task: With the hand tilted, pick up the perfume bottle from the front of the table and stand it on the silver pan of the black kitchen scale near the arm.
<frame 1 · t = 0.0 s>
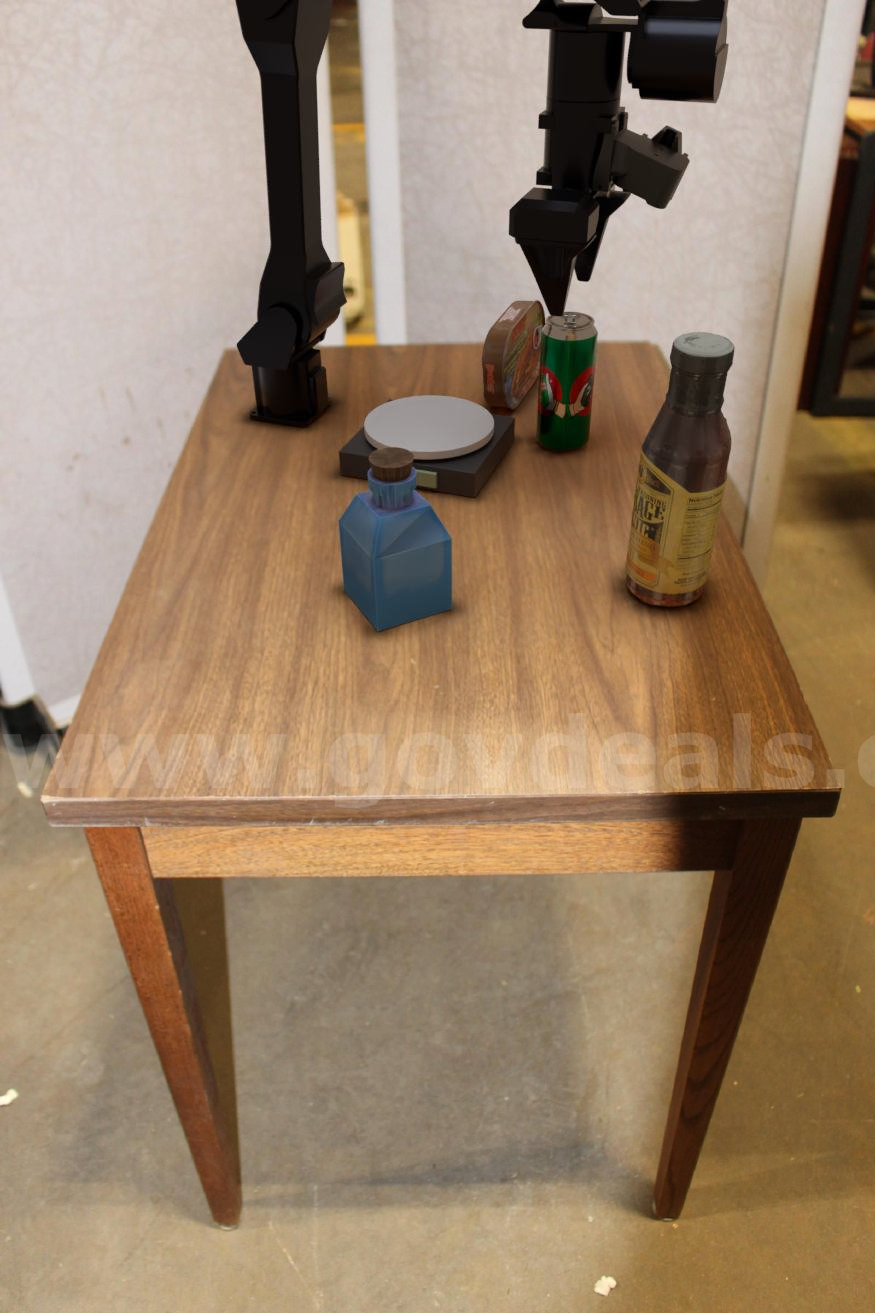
hand: (570, 297, 92), 15 cm above the table, tool pointing down, fingers open, 9 cm apart
perfume bottle: (397, 601, 82), on the table
soda can: (562, 444, 103), on the table
sauce bottle: (664, 592, 82), on the table
tin: (513, 393, 112), on the table
scale: (429, 457, 100), on the table
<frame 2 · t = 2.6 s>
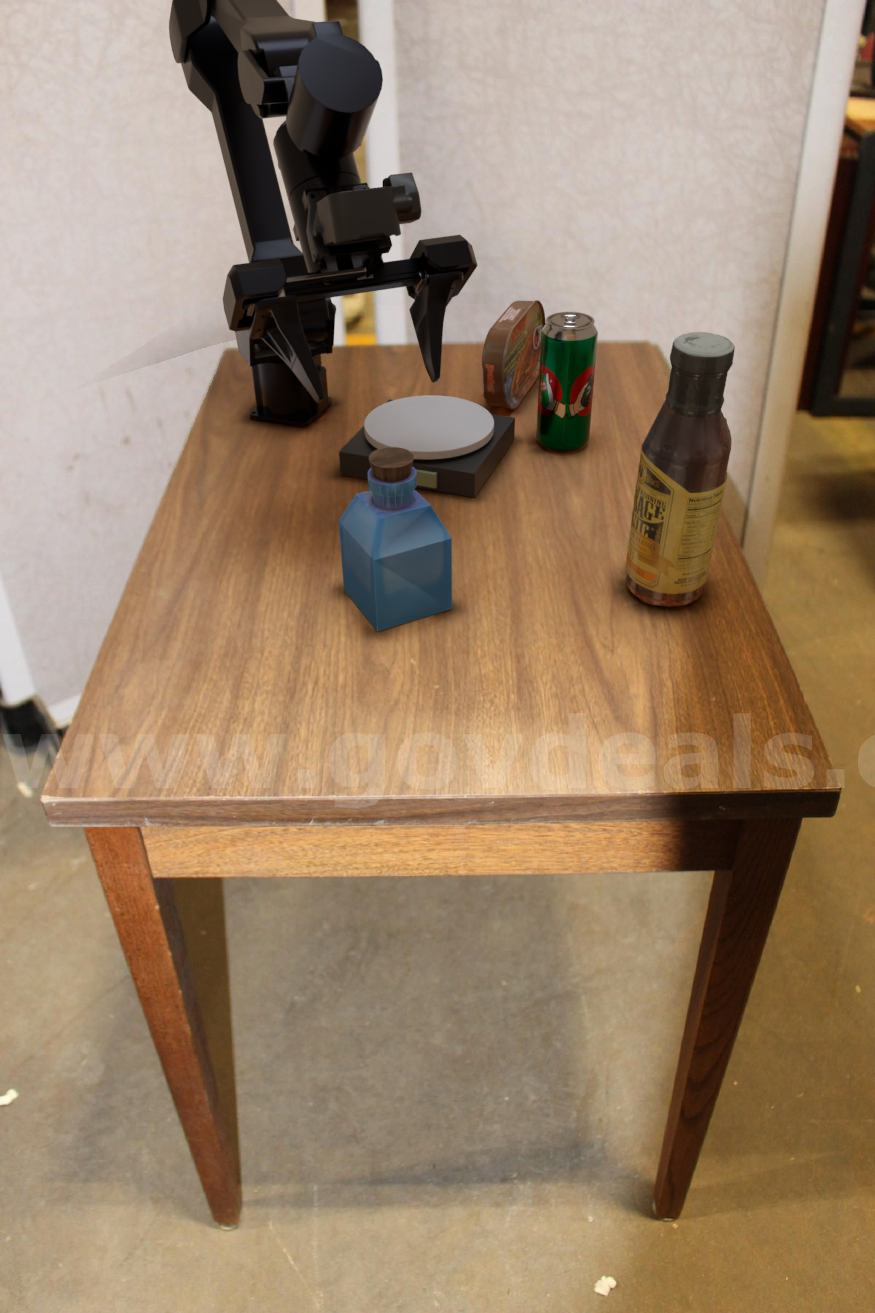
hand: (379, 390, 80), 13 cm above the table, tool tilted 40°, fingers open, 9 cm apart
nothing on the table moved.
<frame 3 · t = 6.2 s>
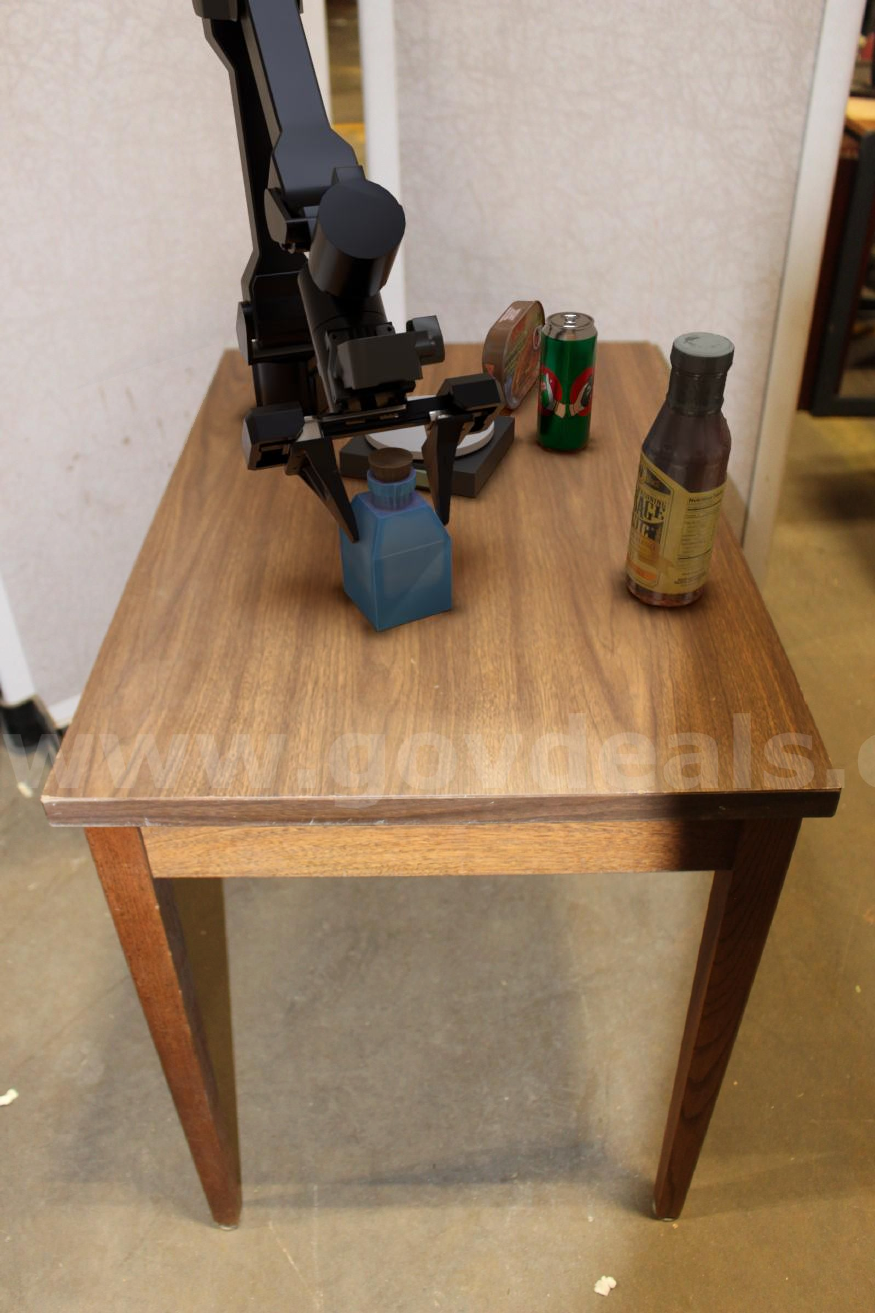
hand: (400, 533, 77), 7 cm above the table, tool tilted 45°, fingers closed on perfume bottle, 6 cm apart
perfume bottle: (397, 601, 82), on the table, touching gripper
everything else where it was.
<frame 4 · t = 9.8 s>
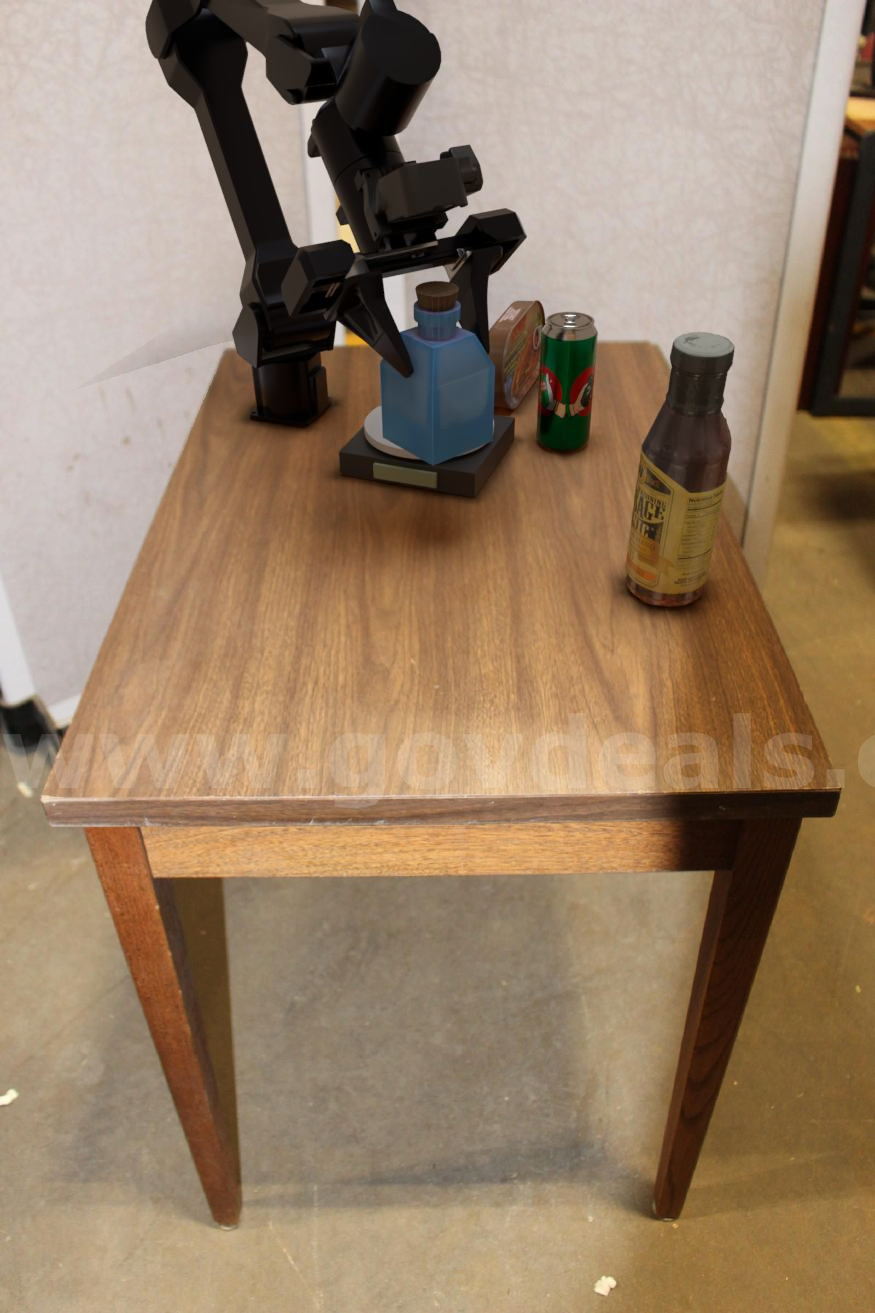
hand: (448, 365, 80), 15 cm above the table, tool tilted 45°, fingers closed on perfume bottle, 6 cm apart
perfume bottle: (437, 441, 85), point 8 cm above the table, touching gripper
everything else where it was.
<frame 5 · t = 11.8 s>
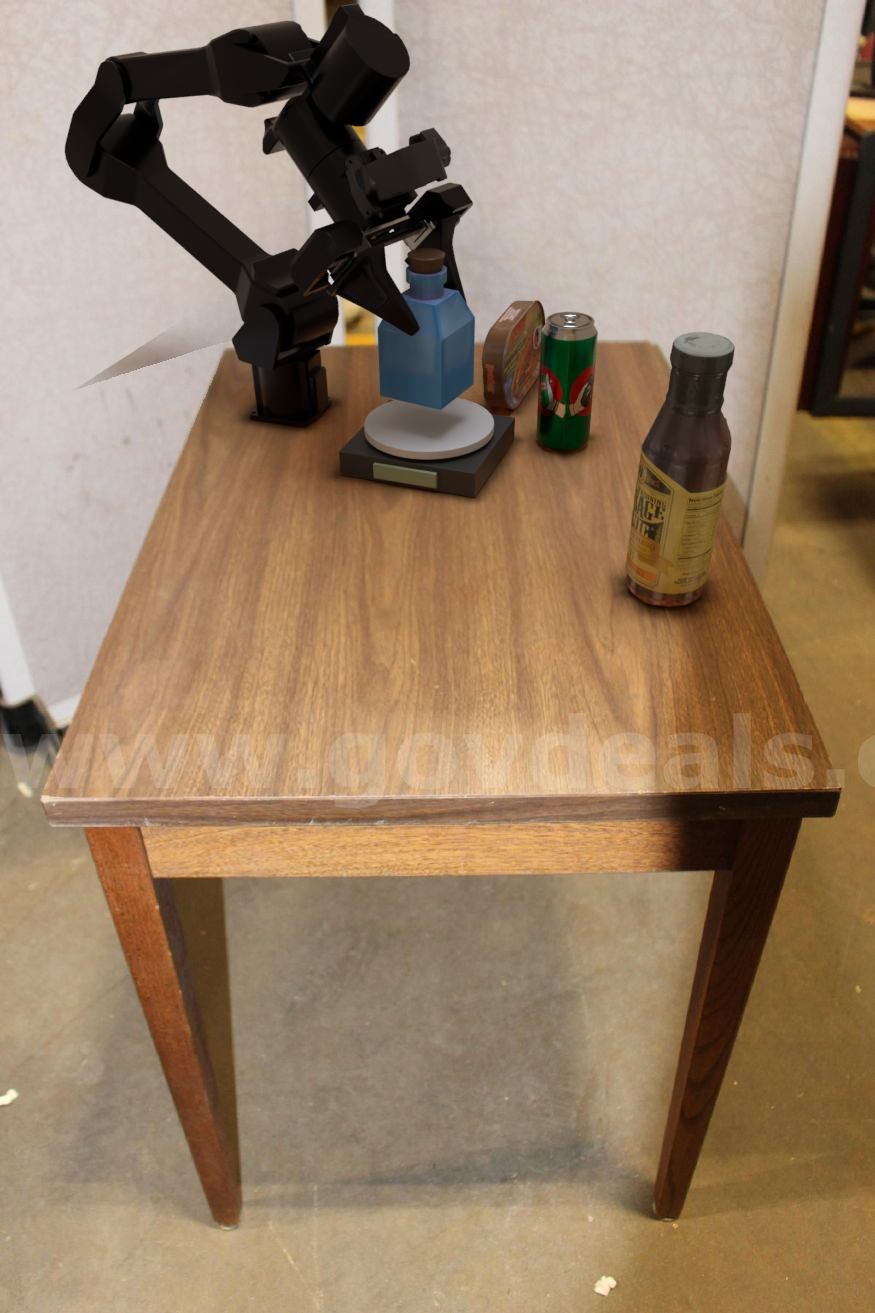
hand: (440, 321, 91), 13 cm above the table, tool tilted 45°, fingers closed on perfume bottle, 6 cm apart
perfume bottle: (427, 391, 96), point 7 cm above the table, touching gripper
everything else where it was.
when the fingers open (10 cm above the table, at t = 13.6 s): perfume bottle stays where it is, resting on scale.
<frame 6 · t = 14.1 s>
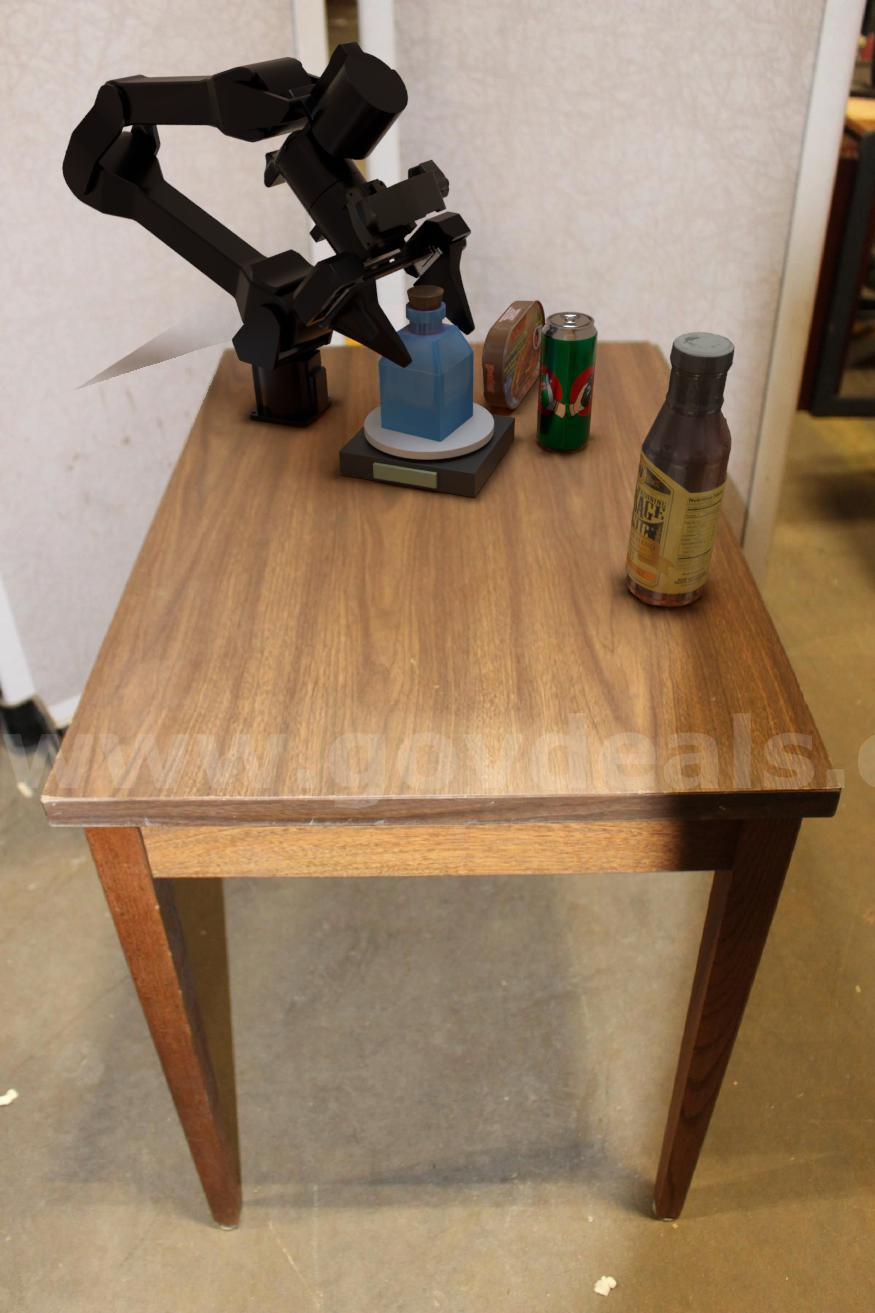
hand: (440, 347, 93), 11 cm above the table, tool tilted 45°, fingers open, 9 cm apart
perfume bottle: (427, 423, 98), point 3 cm above the table, touching scale
everything else where it was.
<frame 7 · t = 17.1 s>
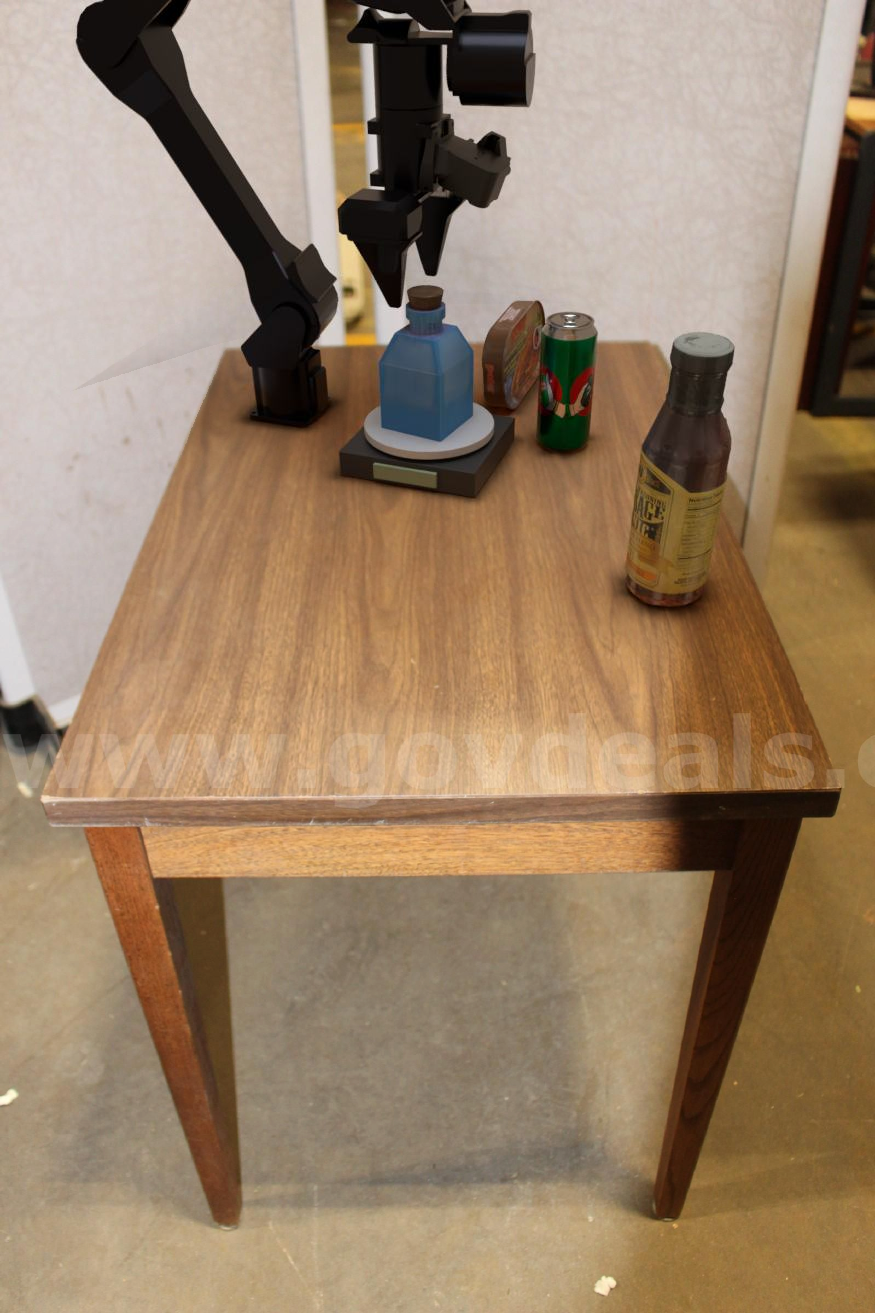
hand: (413, 290, 99), 13 cm above the table, tool pointing down, fingers open, 9 cm apart
nothing on the table moved.
at the end: perfume bottle inside the target area on the scale (0.1 cm from its centre), point 3.4 cm above the scale's base; perfume bottle tilted 0°; the gripper is holding nothing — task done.
